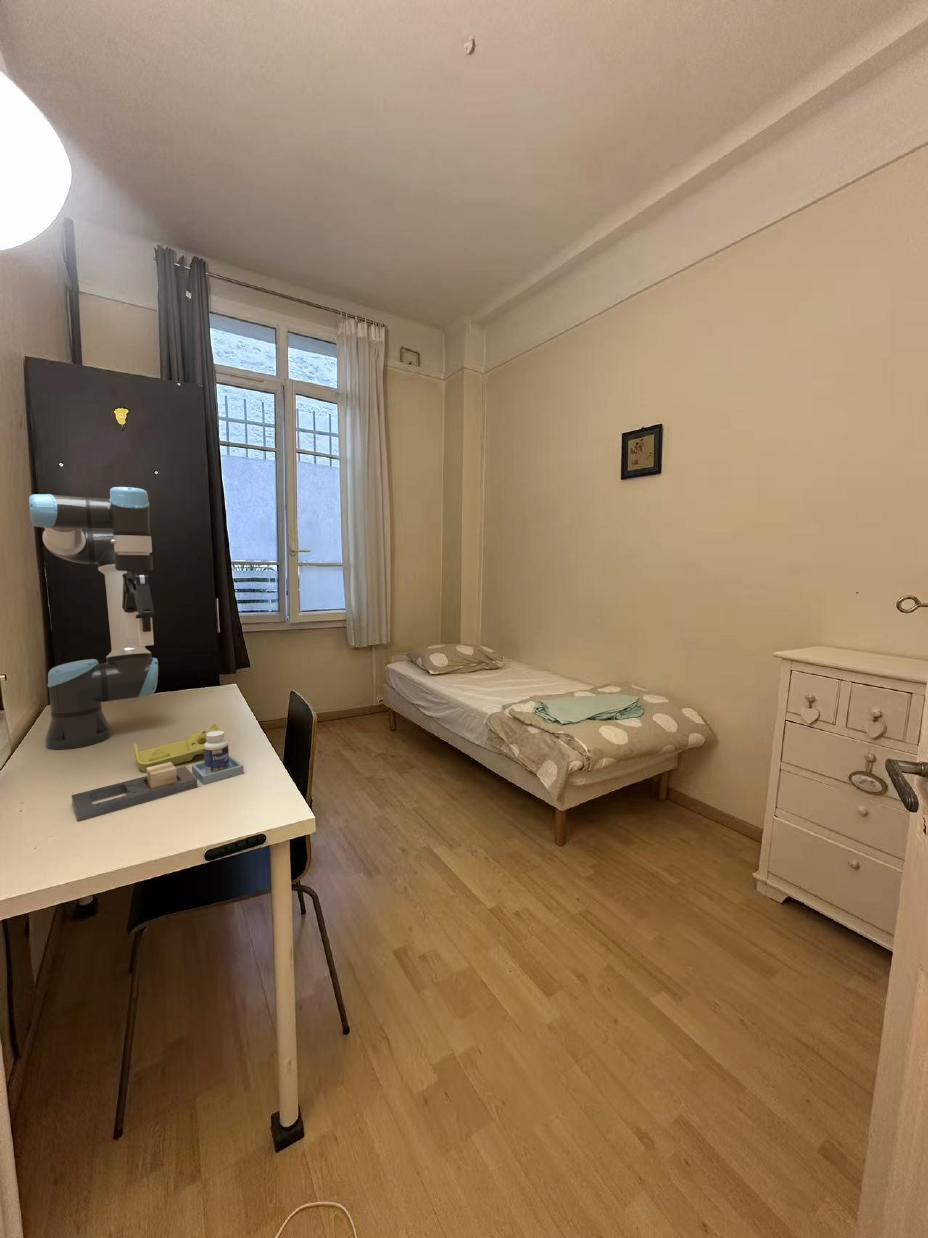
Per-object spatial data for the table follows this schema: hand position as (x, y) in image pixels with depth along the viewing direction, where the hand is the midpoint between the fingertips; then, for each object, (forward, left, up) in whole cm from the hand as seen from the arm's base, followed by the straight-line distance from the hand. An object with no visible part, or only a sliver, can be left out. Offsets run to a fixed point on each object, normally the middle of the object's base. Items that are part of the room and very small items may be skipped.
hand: (139, 641), depth 119 cm
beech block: (+14, 0, -33) cm, 36 cm away
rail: (+14, -5, -33) cm, 36 cm away
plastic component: (-3, +8, -33) cm, 34 cm away
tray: (+14, +12, -33) cm, 38 cm away
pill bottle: (+13, +12, -33) cm, 37 cm away
